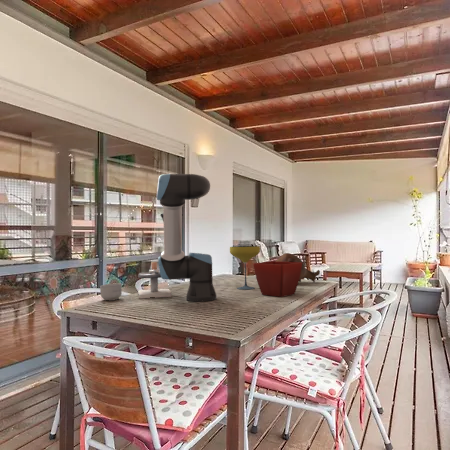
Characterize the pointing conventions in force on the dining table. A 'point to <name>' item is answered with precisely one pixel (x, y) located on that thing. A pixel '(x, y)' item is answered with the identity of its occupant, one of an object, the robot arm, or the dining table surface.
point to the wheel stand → (154, 290)
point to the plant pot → (277, 277)
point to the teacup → (111, 291)
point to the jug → (304, 272)
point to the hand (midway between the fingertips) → (172, 242)
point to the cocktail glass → (245, 258)
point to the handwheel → (151, 272)
